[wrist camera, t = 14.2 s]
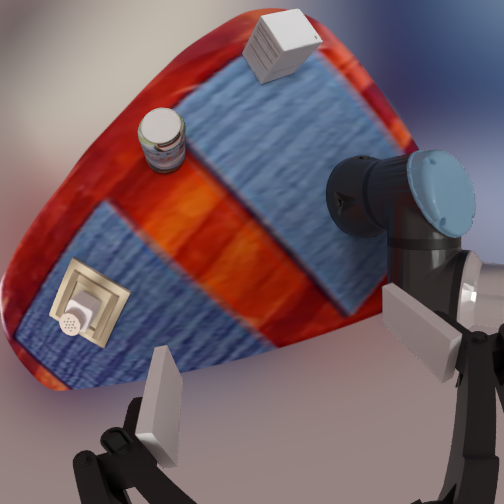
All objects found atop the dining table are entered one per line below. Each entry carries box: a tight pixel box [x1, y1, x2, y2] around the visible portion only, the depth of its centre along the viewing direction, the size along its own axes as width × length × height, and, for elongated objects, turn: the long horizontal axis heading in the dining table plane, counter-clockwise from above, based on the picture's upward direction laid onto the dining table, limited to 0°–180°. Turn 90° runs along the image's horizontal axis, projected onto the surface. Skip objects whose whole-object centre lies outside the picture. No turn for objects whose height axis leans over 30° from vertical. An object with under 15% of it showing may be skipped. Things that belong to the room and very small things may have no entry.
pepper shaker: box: [60, 291, 101, 336], centre depth 37 cm, size 4×4×10 cm
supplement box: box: [242, 9, 323, 84], centre depth 40 cm, size 7×7×13 cm
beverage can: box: [138, 108, 185, 174], centre depth 38 cm, size 6×7×12 cm
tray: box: [49, 257, 131, 348], centre depth 42 cm, size 11×11×2 cm
